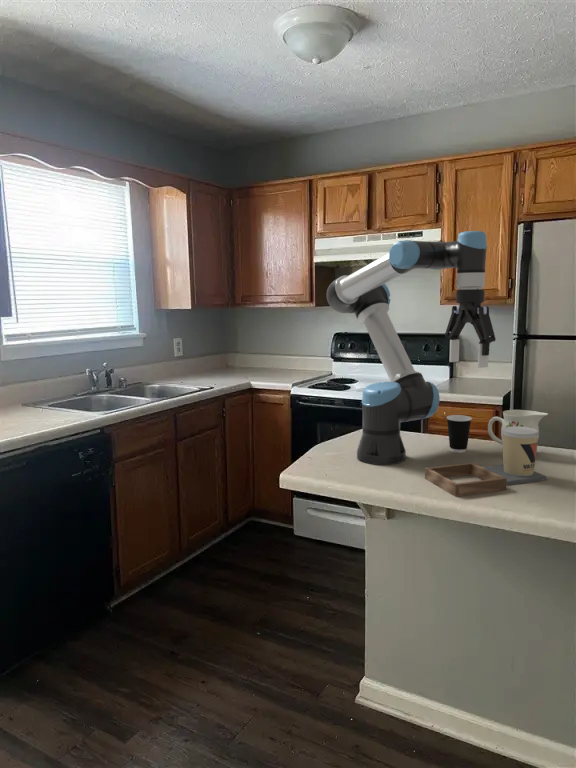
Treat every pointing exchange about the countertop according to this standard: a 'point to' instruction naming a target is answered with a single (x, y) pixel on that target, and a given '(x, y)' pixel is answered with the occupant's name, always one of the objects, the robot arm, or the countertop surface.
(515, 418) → the pitcher
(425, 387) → the robot arm
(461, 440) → the dixie cup
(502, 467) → the rubber mat
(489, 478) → the cup holder
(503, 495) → the countertop surface
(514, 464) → the coffee cup
